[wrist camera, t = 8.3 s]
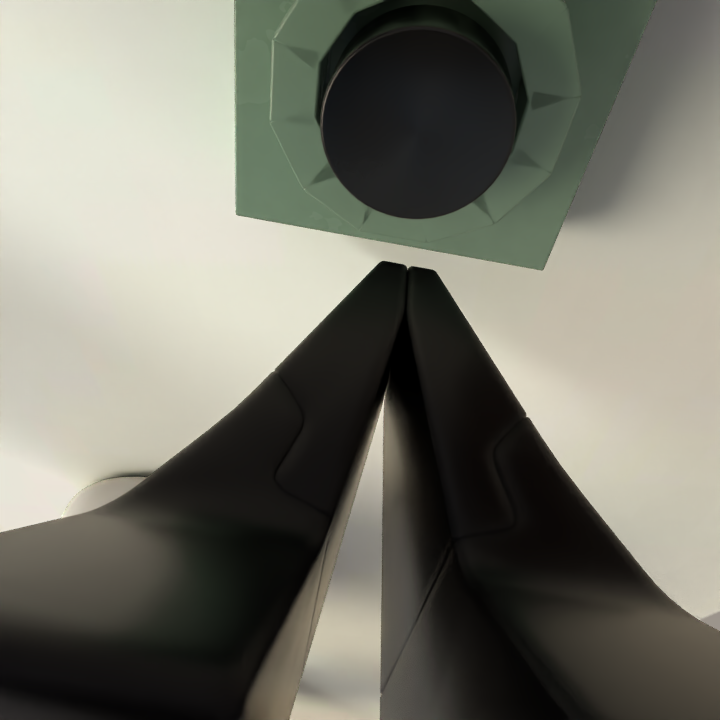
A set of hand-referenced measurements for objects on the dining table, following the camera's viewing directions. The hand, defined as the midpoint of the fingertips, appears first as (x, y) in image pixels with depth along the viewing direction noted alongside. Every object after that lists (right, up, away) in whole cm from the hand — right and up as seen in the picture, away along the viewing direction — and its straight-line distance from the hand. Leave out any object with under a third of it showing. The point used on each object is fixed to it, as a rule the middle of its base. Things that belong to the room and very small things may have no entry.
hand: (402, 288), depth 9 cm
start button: (+1, +5, +6) cm, 8 cm away
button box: (+1, +8, +9) cm, 12 cm away
